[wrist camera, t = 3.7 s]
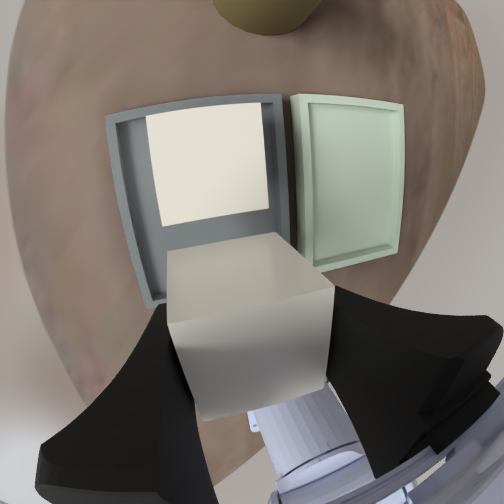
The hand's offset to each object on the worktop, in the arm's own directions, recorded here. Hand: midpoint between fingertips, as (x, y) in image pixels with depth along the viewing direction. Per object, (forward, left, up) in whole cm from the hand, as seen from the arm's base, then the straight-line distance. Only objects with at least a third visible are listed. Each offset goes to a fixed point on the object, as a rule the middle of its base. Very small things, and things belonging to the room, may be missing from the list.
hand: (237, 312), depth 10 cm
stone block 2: (0, 0, -2) cm, 2 cm away
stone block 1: (+5, 0, -7) cm, 8 cm away
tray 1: (+3, 0, -7) cm, 8 cm away
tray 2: (+3, -9, -7) cm, 12 cm away
